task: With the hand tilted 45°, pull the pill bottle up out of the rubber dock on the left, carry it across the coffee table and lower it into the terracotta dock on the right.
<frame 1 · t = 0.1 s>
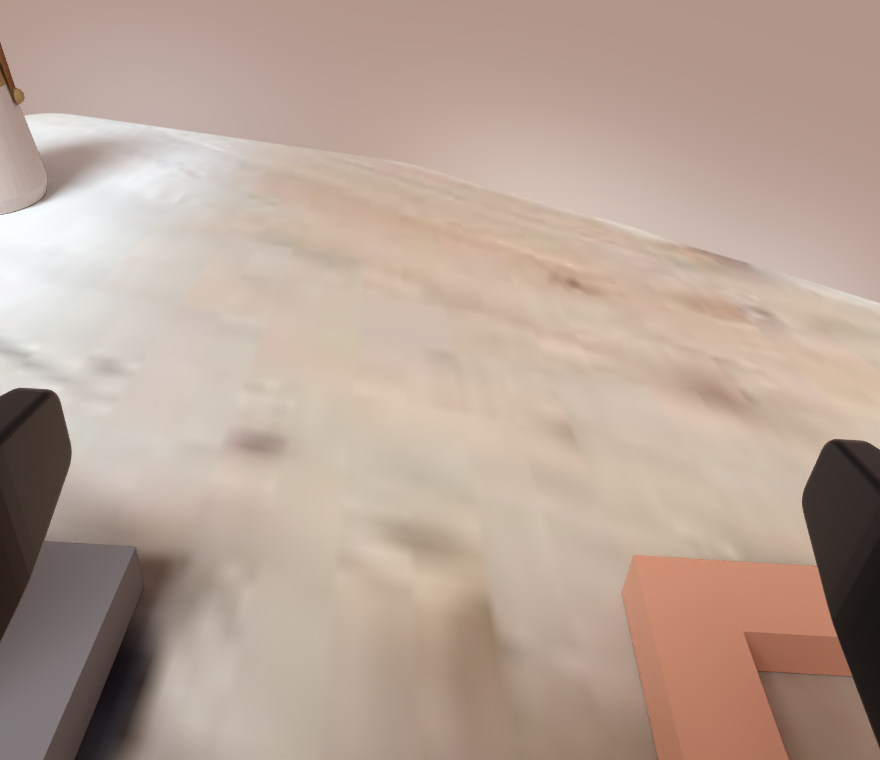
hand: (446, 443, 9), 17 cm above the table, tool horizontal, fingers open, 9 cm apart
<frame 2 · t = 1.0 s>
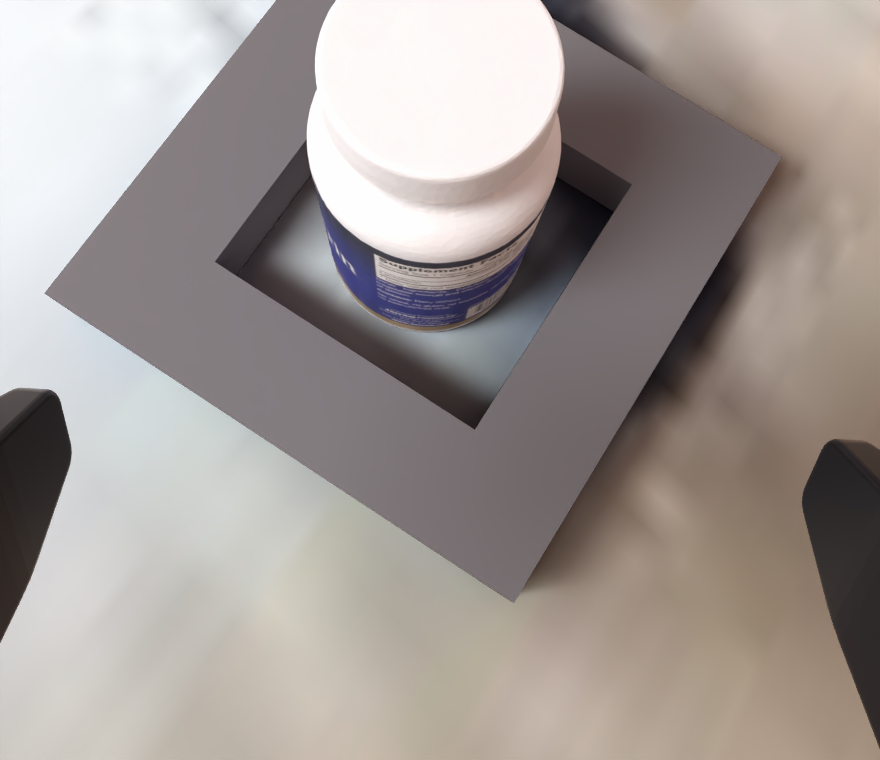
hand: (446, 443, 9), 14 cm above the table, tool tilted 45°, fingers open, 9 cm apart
pill bottle: (425, 249, 25), resting in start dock
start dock: (426, 247, 24), on the table
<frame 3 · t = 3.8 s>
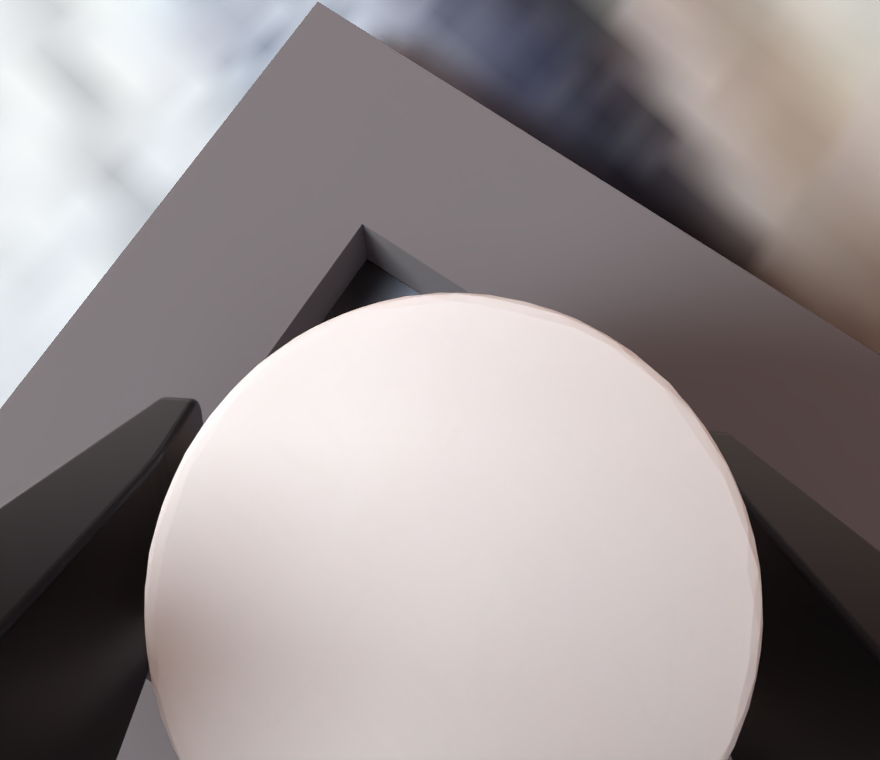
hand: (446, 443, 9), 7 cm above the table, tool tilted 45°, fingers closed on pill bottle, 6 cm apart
pill bottle: (424, 546, 16), resting in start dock, touching gripper
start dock: (424, 547, 16), on the table
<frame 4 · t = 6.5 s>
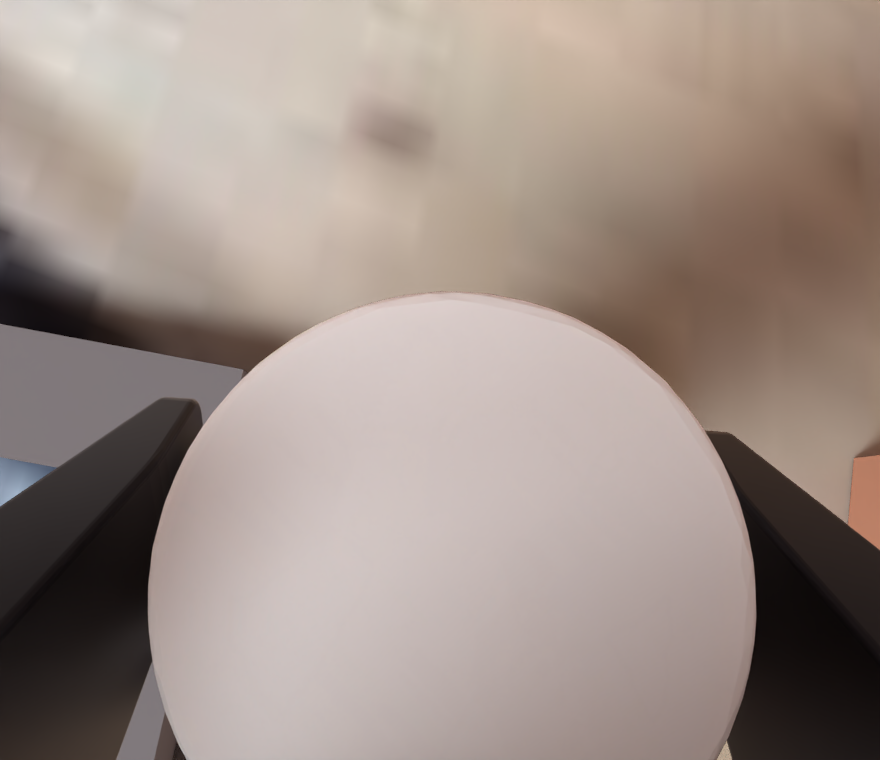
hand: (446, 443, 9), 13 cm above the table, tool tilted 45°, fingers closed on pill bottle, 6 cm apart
pill bottle: (416, 542, 16), point 6 cm above the table, touching gripper
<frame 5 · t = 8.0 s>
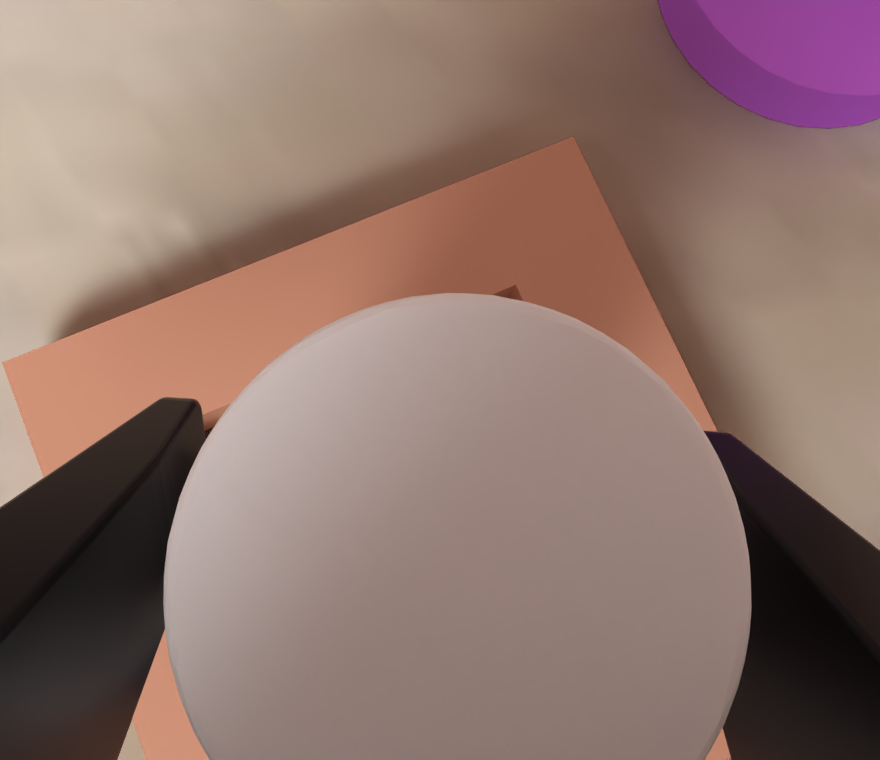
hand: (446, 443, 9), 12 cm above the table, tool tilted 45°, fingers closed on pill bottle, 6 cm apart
pill bottle: (418, 539, 16), point 4 cm above the table, touching gripper
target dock: (419, 527, 21), on the table
when the fingers open (8 cm above the table, at t = 9.4 s): pill bottle stays where it is, resting in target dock.
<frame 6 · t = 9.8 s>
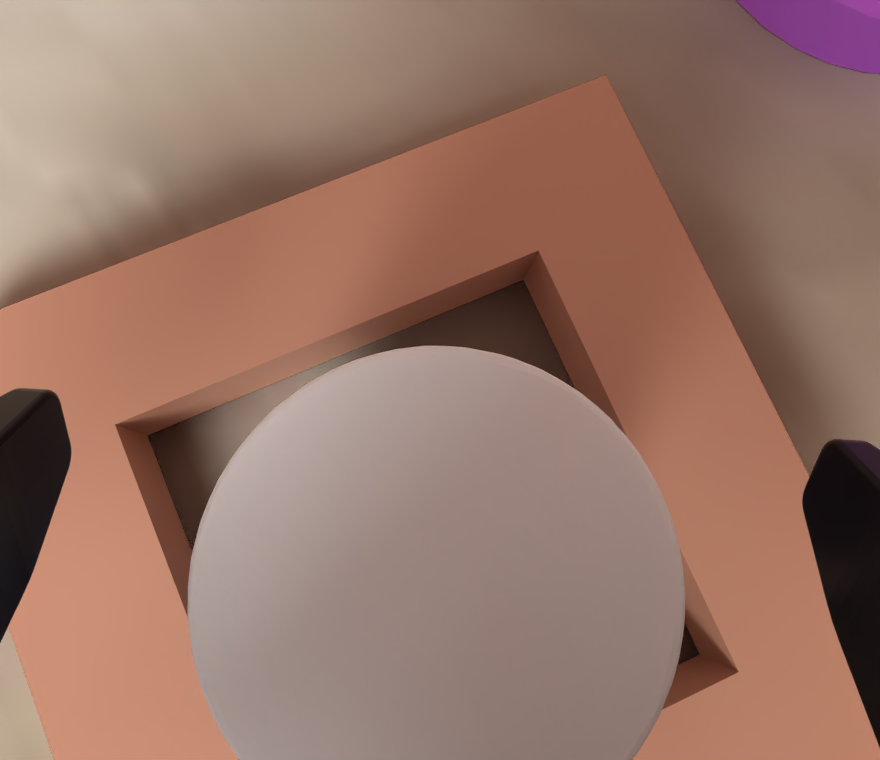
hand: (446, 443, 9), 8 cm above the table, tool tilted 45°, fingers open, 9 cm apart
pill bottle: (418, 549, 17), resting in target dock
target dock: (421, 544, 17), on the table
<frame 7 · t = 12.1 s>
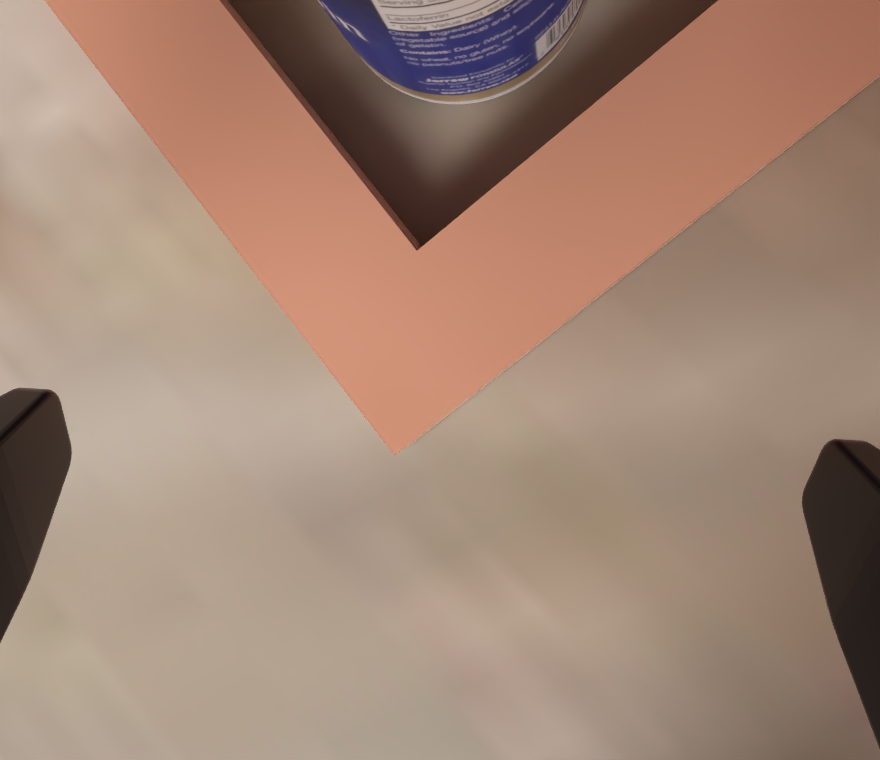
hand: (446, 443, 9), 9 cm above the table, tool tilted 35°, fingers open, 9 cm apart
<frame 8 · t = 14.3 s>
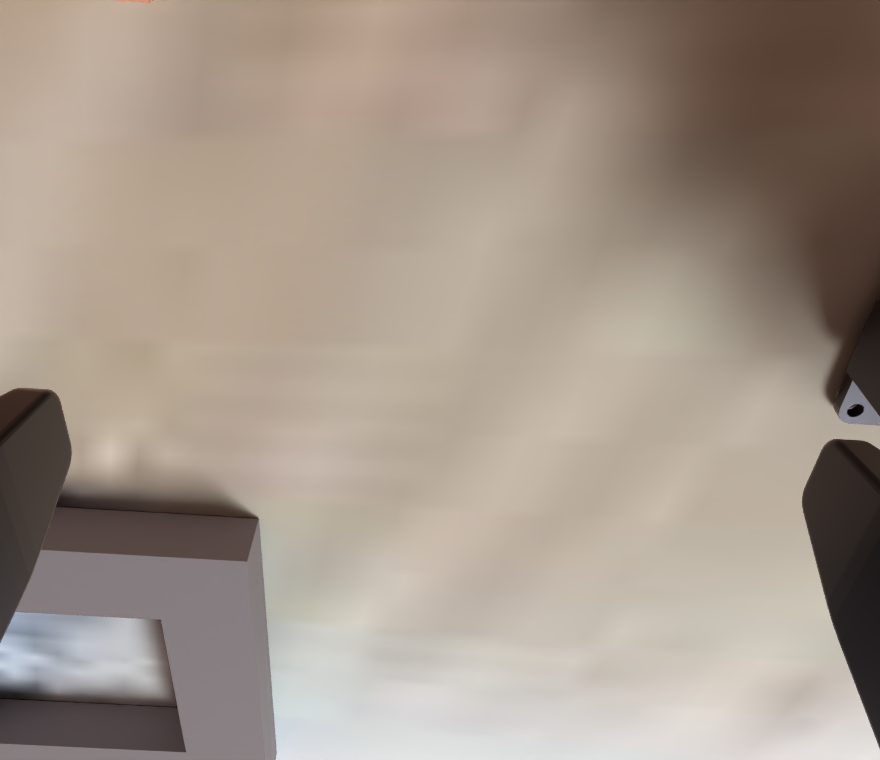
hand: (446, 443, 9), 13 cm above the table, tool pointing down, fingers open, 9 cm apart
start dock: (82, 641, 32), on the table
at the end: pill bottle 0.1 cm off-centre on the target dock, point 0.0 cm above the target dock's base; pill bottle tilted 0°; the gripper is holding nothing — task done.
